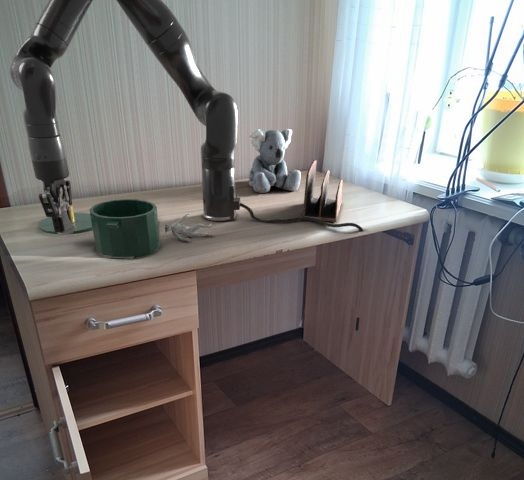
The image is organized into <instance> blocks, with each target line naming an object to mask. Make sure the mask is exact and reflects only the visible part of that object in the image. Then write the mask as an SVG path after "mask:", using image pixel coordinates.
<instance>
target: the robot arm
mask: <svg viewBox="0 0 524 480" xmlns="http://www.w3.org/2000/svg"><path fill="white" fill-rule="evenodd" d="M93 1H94V0H48V1H47V2H46V4H45V5H44V7H43V9H42V11H41V13H40V15H39V16H38V19H37V21H36V22H35V25H34V27H33V28H32V29H33V30H32V31H31V33H30V35H29V36H28V37H27V38H26V39H25V40H24V42H23V44H22V45H21V46H20V48H19V49H18V50H17V52H16V53H15V54H14V56H13V58H12V60H11V63H10V65H9V77H10V79H11V82H12V83H13V85H14V86H15V87H16V88H17V89H18V90H20V91H21V92H22V93H23V99H24V107H25V108H24V109H23V111H22V118H23V123H24V127H25V132H26V137H27V143H28V145H27V146H28V151H29V155H30V159H31V163H32V168H33V172H34V176H35V179H37V180H38V181H41V182H42V184H43V185H42V186H43V193H38V198H39V202H40V204H41V206H42V209H43V211H44V214H45V217H46V218H48V217H51V218H52V221H53V226H54V230H55V232H57V233H62V232H64V231H65V230H64V225H63V220H62V217H61V207H62V206H63V203H62V200H63V199H65V202H66V203H67V204H66V209H67V215H68V218H69V220H70V221H71V217H70V212H69V210H70V205H72V206H73V195H72V194H73V193H72V182H71V180H66V179H67V178H69V176H70V171H69V166H68V160H67V155H66V150H65V145H64V142H63V138H62V135H61V129H60V126H59V121H58V120H59V119H58V116H57V89H56V81H55V77H54V73H53V71H52V69H51V68H52V66H53V65H54V63H55V62H56V61H57V60H58V59H61V58H62V57H63V56H64V55H65V54H66V53H67V51H68V48H69V46H70V45H71V43H72V41H73V40H74V37H75V35H76V33H77V32H78V29H79V28H80V25H82V21H83V20H84V18H85V16H86V14H87V12H88V10H89V8H90V6H91V5H92V3H93ZM115 1H116V2H117V4H118V5H119V7H120V8H121V10H122V11H123V12H124V14H125V15H126V17H127V18H128V20H129V21H130V23H131V24H132V25H133V27H134V29H135V30H136V31H137V33H138V35H139V36H140V37H141V39H142V41H143V42H144V43H145V45H146V46H147V47H148V49H149V50H150V52H151V53H152V54H153V55H154V57H155V58H156V60H157V61H158V62H159V63H160V65H161V66H162V68H163V69H164V71H165V72H166V73H167V75H168V76H169V77H170V78H171V79H172V81H173V82H174V83H175V84H176V86H177V88H179V91H181V93H182V95H183V96H184V98H185V99H186V102H187V103H188V105H189V107H190V109H191V110H192V112H193V114H194V116H195V118H196V119H197V121H199V122H200V124H201V125H203V126H204V127H205V141H204V142H203V143H201V146H200V155H201V156H200V163H201V164H200V165H201V182H202V203H203V205H202V206H203V209H202V211H203V213H202V214H203V216H202V217H203V218H204V219H205V220H208V221H212V222H226V221H234V220H235V219H236V215H237V211H240V209H241V208H243V209H245V210H246V211H247V212H248V213H249V214H250V215H249V216H250V217H251V219H253V221H255V222H259V223H267V224H275V223H291V222H296V221H310V222H314V223H318V224H320V225H323V226H326V227H330V228H344V227H354V228H356V229H357V230H359V231H360V232H364V228H363V227H362V226H361V225H360V224H357V223H355V222H342V223H332V222H325V221H321V220H318V219H315V218H310V217H303V216H297V217H296V216H295V217H290V218H274V219H271V218H270V219H261V218H259V217H257V216H256V215H255V214H254V212H253V210H252V208H250V207H249V206H248V205H246V204H244V203H242V202H241V197H236V194H237V191H236V189H237V188H236V187H237V186H236V180H235V175H236V173H235V150H236V147H237V143H238V126H239V125H238V122H239V121H238V120H239V118H238V117H239V116H238V106H237V103H236V101H235V99H234V97H232V96H231V95H230V94H228V93H226V92H223V91H219V90H217V89H215V88H214V87H213V85H212V84H211V83H210V82H209V80H208V79H207V77H206V75H204V73H203V72H202V71H201V69H200V66H199V64H198V61H197V59H196V57H195V52H194V49H193V46H192V44H191V41H190V38H189V37H188V34H187V33H186V31H185V29H184V27H183V26H182V25H181V23H180V22H179V20H178V19H177V17H176V16H175V14H174V13H173V11H172V10H171V8H170V7H169V6H168V5H166V3H165V2H164V1H163V0H115ZM54 202H58V204H54ZM56 208H57V210H56ZM71 223H72V222H71ZM360 320H361V318H360V317H356V320H355V328H354V329H355V331H356V332H357V331H359V326H360Z"/></svg>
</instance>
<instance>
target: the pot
mask: <svg viewBox="0 0 524 480" xmlns="http://www.w3.org/2000/svg"><path fill="white" fill-rule="evenodd" d="M88 211H89V214H90V217H91V223H92V234H93V235H92V236H93V239H94V240H93V241H94V245H95V247H94V248H95V250H96V252H97V253H99V254H100V255H102V256H107V257H110V260H111V259H112V260H134V259H139V258H144V257H148V256H151V255H153V254H155V253H157V252H158V251H159V250H160V247H161V237H160V236H161V235H160V226H159V216H158V207H157V206H156V204H155V203H154V202H151V201H148V200H144V199H140V198H122V199H121V198H120V199H112V200H106V201H102V202H99V203H96V204H93V205H92V206H91V207H90V208H89V210H88Z"/></svg>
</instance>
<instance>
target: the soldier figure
mask: <svg viewBox="0 0 524 480" xmlns="http://www.w3.org/2000/svg"><path fill="white" fill-rule="evenodd" d="M188 216H190V213H186V214H185V215H183V216H182V217H181V218H179V219H178V221H176V222H174V223H172V226H171V224H170V225H168V224H164V233H165V234H167V233H168V232H171V233H172V235H173V236H174V237H175V238H176V239H177V240H179V241H182V242H189V241H190V238H195V237H201V238H202V237H205V236H208V237H212V234H213V232H202V231H200V230H199V229H205V228H207V229H211V228H213V227H212V226H213V223H210V224H203V223H200V222H199V223H196V224H193V225H192V226H187V225H185V224H182V223H184V221H185V219H186V218H188ZM197 230H199V231H197Z"/></svg>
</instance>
